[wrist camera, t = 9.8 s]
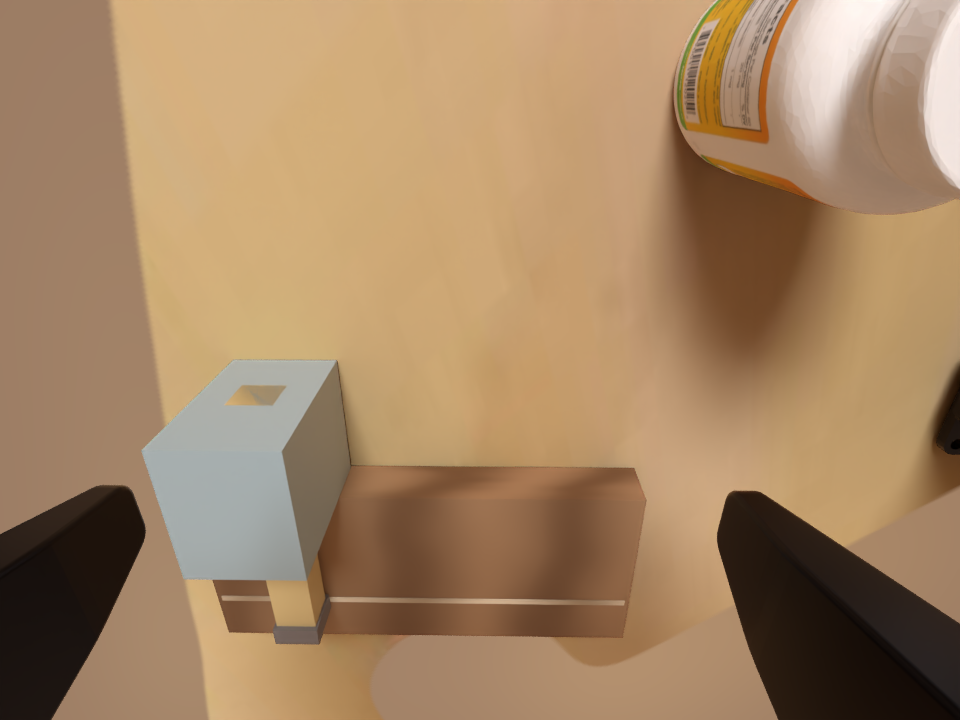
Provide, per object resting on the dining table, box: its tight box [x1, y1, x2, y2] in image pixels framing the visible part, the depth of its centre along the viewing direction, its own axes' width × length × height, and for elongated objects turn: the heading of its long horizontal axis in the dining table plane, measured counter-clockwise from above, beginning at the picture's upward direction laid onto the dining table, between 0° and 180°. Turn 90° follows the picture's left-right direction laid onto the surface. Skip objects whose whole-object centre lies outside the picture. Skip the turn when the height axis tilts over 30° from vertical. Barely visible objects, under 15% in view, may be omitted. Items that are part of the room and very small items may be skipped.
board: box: [213, 466, 646, 638], centre depth 24 cm, size 18×8×2 cm, turn 90°
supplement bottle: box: [674, 0, 960, 215], centre depth 12 cm, size 5×5×10 cm
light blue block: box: [141, 360, 351, 644], centre depth 20 cm, size 4×11×6 cm, turn 0°
